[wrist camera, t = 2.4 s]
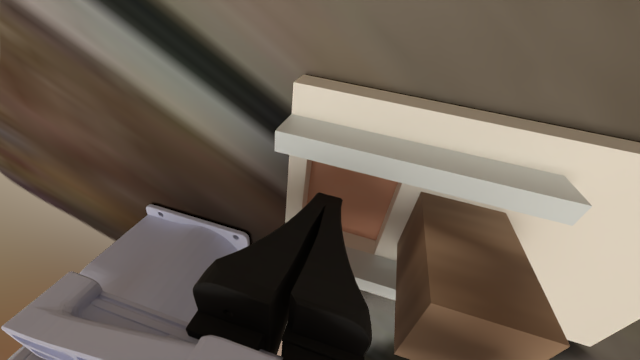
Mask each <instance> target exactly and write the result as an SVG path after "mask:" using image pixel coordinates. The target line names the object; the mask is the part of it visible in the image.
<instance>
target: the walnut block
mask: <svg viewBox="0 0 640 360" xmlns="http://www.w3.org/2000/svg"><path fill="white" fill-rule="evenodd" d="M568 347H570V345H569V343H568V341H567V339H566V337H565V335H564V332H563V330H562V328H561V326H560V324H559V322H558V320H557V318H556V316H555V314H554V312H553V310H552V308H551V305H550V303H549V301H548V299H547V297H546V295H545V293H544V291H543V289H542V287H541V285H540V283H539V281H538V278H537V276H536V274H535V272H534V270H533V268H532V266H531V264H530V262H529V260H528V258H527V256H526V254H525V251H524V249H523V247H522V245H521V243H520V241H519V239H518V237H517V235H516V233H515V231H514V229H513V227H512V224H511V222H510V220H509V218H508V216H507V214H506V213H504V212H500V211H496V210H492V209H488V208H484V207H481V206H477V205H473V204H469V203H465V202H461V201H457V200H453V199H449V198H445V197H441V196H437V195H433V194H429V193H425V192H421V193H420V195H419V197H418V199H417V201H416V204H415V206H414V208H413V210H412V212H411V215H410V217H409V219H408V221H407V223H406V226H405V228H404V230H403V232H402V234H401V236H400V239H399V241H398V243H397V267H396V302H395V337H394V354H396V355H399V356H402V357H405V358H407V359H410V360H548V359H550V358H552V357H553V356H555V355H557V354H558V353H560V352H562V351H563V350H565V349H567V348H568Z"/></svg>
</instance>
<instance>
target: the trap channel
mask: <svg viewBox="0 0 640 360" xmlns="http://www.w3.org/2000/svg"><path fill="white" fill-rule="evenodd" d="M275 151H276V152H280V153H284V154H288V155H289V167H288V184H287V201H286V218H285V223H286V222H288V221H289V220H290V219H291V218H292V217H294V216H295V215H296V214H297V213H298V212H299V211H300V210H302V209H303V208H304V207H305V206H306V205H307V204H308V203H309V202H310V201H311V200H312V198H313V197H314V196H315V195H316V194H317V193H319V192H320V193H324V194H327V195H331V196H335V197H339V198H341V199H342V200H343V201H342V206H341V222H342V232H343V238H344V243H345V248H346V252H347V256H348V260H349V263H350V266H351V269H352V272H353V274H354V277H355V280H356V283H357V285H358V287H359V289H360V290H363V291H367V292H370V293H373V294H376V295H379V296H382V297H386V298H389V299H392V300H395V301H396V267H397V243H398V241H399V239H400V236H401V234H402V232H403V230H404V228H405V226H406V223H407V221H408V219H409V217H410V215H411V212H412V210H413V208H414V206H415V204H416V201H417V199H418V197H419V195H420V193H421V192H425V193H429V194H433V195H437V196H441V197H445V198H449V199H453V200H457V201H461V202H465V203H469V204H473V205H477V206H481V207H484V208H488V209H492V210H496V211H500V212H504V213H506V214H507V216H508V218H509V220H510V222H511V224H512V227H513V229H514V231H515V233H516V235H517V237H518V239H519V241H520V243H521V245H522V247H523V249H524V251H525V254H526V256H527V258H528V260H529V262H530V264H531V266H532V268H533V270H534V272H535V274H536V276H537V278H538V281H539V283H540V285H541V287H542V289H543V291H544V293H545V295H546V297H547V299H548V301H549V303H550V305H551V308H552V310H553V312H554V314H555V316H556V318H557V320H558V322H559V324H560V326H561V328H562V330H563V332H564V335H565V337H566V339H567V340H570V341H574V342H577V343H580V344H583V345H587V346H592V345H594V344H596V343H597V342H599V341H601V340H603V339H605V338H606V337H608V336H610V335H612V334H614V333H615V332H617V331H619V330H621V329H622V328H624V327H626V326H628V325H630V324H631V323H633V322H635V321H637V320H638V319H640V142H635V141H630V140H625V139H620V138H615V137H610V136H605V135H600V134H595V133H590V132H585V131H581V130H576V129H571V128H566V127H561V126H556V125H551V124H546V123H541V122H536V121H531V120H526V119H521V118H516V117H511V116H506V115H502V114H497V113H492V112H487V111H482V110H477V109H472V108H467V107H462V106H457V105H452V104H447V103H442V102H437V101H432V100H427V99H422V98H418V97H413V96H408V95H403V94H398V93H393V92H388V91H383V90H378V89H373V88H368V87H363V86H358V85H353V84H348V83H343V82H339V81H334V80H329V79H324V78H319V77H314V76H309V75H303V76H301V77H300V78H298V79H297V80H296V81H294V83H293V100H292V114H291V115H290V116H289V117H288V118H287V119H286V120H285V121H284V122H283V123H282V124H281V125H280V126H279V127H278V128H277V129H276V130H275Z"/></svg>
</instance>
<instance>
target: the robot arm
mask: <svg viewBox="0 0 640 360" xmlns="http://www.w3.org/2000/svg"><path fill="white" fill-rule="evenodd" d="M342 201H343V200H342V199H341V198H339V197H335V196H331V195H327V194H324V193H320V192H319V193H317V194H316V195H315V196H314V197H313V198H312V200H311V201H310V202H309V203H308V204H307V205H306V206H305V207H304V208H303V209H302V210H300V211H299V212H298V213H297V214H296V215H295V216H294V217H292V218H291V219H290V220H289V221H288V222H286V223H285V224H284V225H282V226H281V227H280V228H278V229H277V230H275V231H274V232H272V233H271V234H269V235H267V236H266V237H264V238H262V239H261V240H259V241H257V242H255V243H253V244H251V245H250V243H249V236H248V234H246V233H245V232H242V231H239V230H235V229H232V228H229V227H226V226H222V225H219V224H216V223H212V222H209V221H206V220H202V219H199V218H196V217H193V216H189V215H186V214H183V213H179V212H176V211H173V210H169V209H166V208H163V207H159V206H156V205H153V204H149V205H148V206H147V207H146V211H147V214H148V215H147V216H146V217H144V218H143V219H142V220H141V221H140V222H138V223H137V224H136V225H135V226H134V227H132V228H131V229H130V230H129V231H128V232H126V233H125V234H124V235H123V236H122V237H120V238H119V239H118V240H117V241H116V242H114V243H113V244H112V245H111V246H110V247H108V248H107V249H106V250H105V251H104V252H102V253H101V254H100V255H99V256H98V257H96V258H95V259H94V260H93V261H91V262H90V263H89V264H88V265H87V266H86V267H85V268H84V269H83V270H82V271H81V272H80V273H79V274H78V273H75V272H68V273H67V274H66V275H65V276H64V277H62V278H61V279H60V280H59V281H57V282H56V283H55V284H54V285H52V286H51V287H50V288H49V289H47V290H46V291H45V292H44V293H42V294H41V295H40V296H39V297H38V298H36V299H35V300H34V301H33V302H31V303H30V304H29V305H28V306H26V307H25V308H24V309H23V310H21V311H20V312H19V313H18V314H16V315H15V316H14V317H13V318H12V319H10V320H9V321H8V322H7V323H5V324H4V325H3V326H2V330H3V331H5V332H6V333H7V334H9V335H10V336H11V337H13V338H14V339H15V340H17V341H18V342H19V343H21V344H22V345H23V346H22V347H21V348H20V349H19V350H18V351H16V352H15V353H14V354H13V355H12V356H11V357H10V358H9V359H7V360H364V356H365V354H366V352H367V351H368V349H369V347H370V345H371V341H372V330H371V321H370V315H369V309H368V306H367V304H366V302H365V300H364V298H363V296H362V294H361V292H360V290H359V287H358V285H357V283H356V280H355V277H354V274H353V272H352V269H351V266H350V263H349V260H348V256H347V252H346V248H345V243H344V238H343V232H342V222H341V206H342ZM287 321H288V323H287ZM286 324H287V326H286ZM285 327H286V328H285ZM284 330H285V331H284ZM283 333H284V334H283ZM281 340H282V341H283V342H282V355H281V356H278V355H277V352H278V349H279V346H280V343H281Z"/></svg>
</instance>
